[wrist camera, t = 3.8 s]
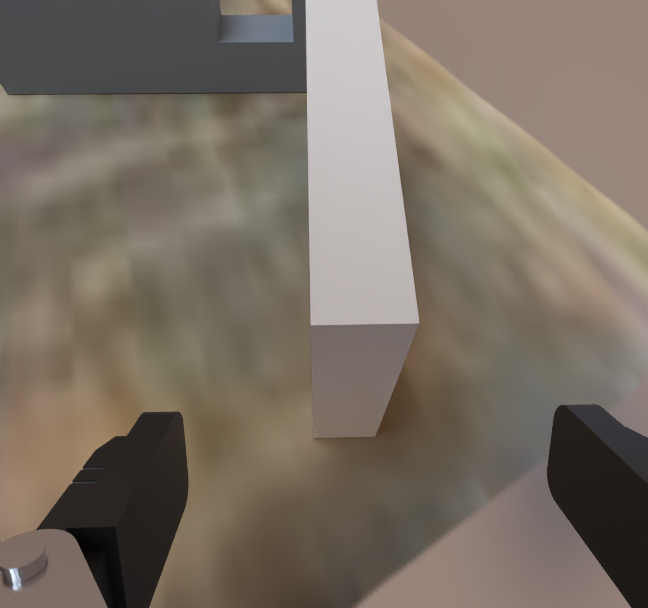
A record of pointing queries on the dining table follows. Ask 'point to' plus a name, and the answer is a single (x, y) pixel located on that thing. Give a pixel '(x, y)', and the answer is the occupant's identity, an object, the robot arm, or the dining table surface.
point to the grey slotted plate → (148, 48)
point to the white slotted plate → (354, 223)
